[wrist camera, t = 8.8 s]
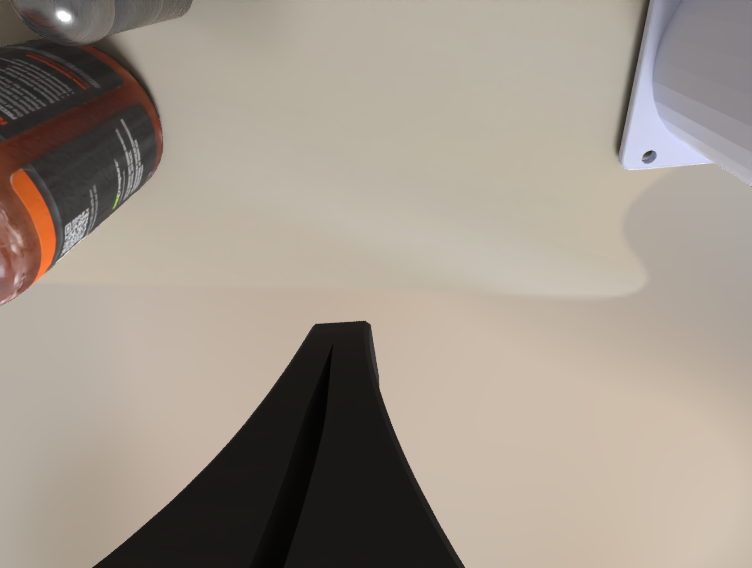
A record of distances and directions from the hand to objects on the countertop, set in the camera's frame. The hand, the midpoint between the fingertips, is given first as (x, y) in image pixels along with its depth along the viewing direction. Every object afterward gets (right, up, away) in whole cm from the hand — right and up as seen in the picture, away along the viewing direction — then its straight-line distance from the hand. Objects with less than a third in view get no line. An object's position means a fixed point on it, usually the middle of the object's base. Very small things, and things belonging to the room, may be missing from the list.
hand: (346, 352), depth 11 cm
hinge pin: (-6, +12, +4) cm, 14 cm away
